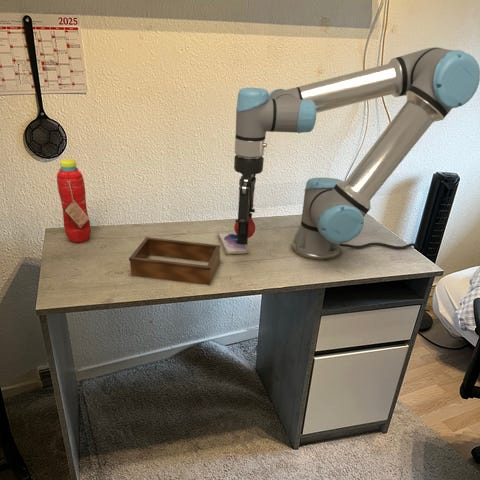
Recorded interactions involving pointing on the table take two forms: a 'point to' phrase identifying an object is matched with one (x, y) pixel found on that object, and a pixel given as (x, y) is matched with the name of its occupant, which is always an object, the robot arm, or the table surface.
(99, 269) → the table surface
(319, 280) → the table surface
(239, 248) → the smartphone
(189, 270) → the wooden box frame
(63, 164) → the water bottle
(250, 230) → the pomegranate
